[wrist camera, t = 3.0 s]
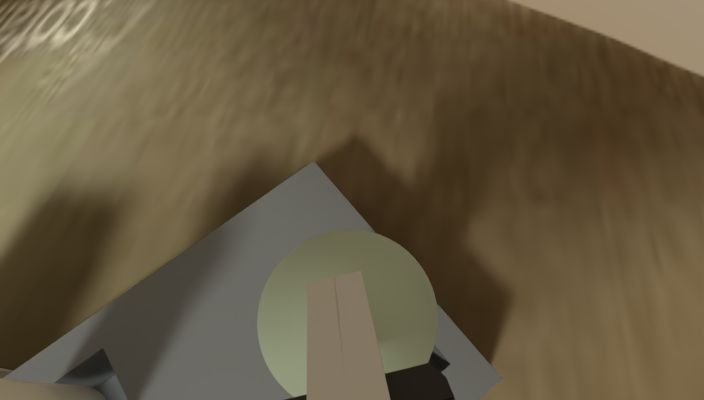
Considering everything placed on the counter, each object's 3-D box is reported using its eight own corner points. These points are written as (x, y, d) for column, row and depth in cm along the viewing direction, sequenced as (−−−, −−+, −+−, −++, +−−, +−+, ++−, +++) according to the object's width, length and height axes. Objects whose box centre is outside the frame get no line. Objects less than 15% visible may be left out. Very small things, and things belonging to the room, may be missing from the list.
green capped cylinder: (290, 344, 24) (224, 299, 15) (374, 278, 25) (361, 198, 16) (356, 440, 22) (326, 459, 12) (444, 363, 23) (477, 328, 14)
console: (28, 409, 28) (-41, 408, 24) (324, 195, 33) (313, 160, 28) (137, 696, 22) (71, 768, 18) (484, 384, 27) (502, 378, 22)
